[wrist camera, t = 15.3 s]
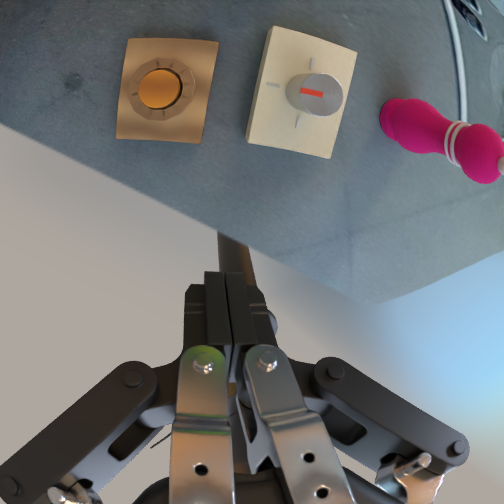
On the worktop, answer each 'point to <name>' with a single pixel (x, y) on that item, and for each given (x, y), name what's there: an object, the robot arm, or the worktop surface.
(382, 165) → the worktop surface
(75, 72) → the worktop surface
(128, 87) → the switch block
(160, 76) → the light button
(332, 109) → the dimmer knob
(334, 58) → the dimmer panel
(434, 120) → the pepper mill
